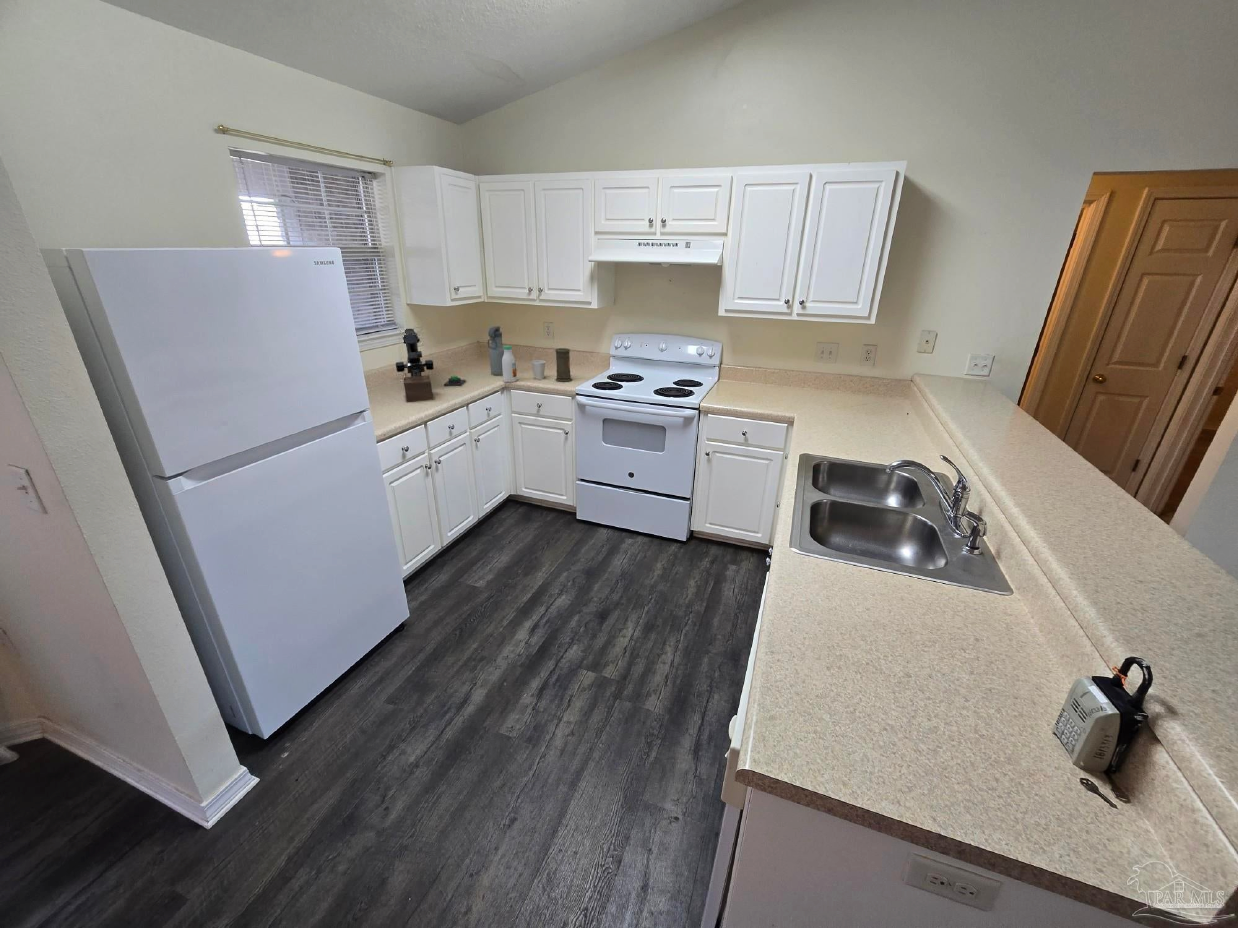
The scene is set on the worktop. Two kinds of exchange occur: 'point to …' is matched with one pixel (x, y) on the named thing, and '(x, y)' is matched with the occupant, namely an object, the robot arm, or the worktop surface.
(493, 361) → the water bottle
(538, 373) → the dixie cup
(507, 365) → the milk bottle
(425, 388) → the brown block
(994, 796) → the worktop surface
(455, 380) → the control block
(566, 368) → the container
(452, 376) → the button
